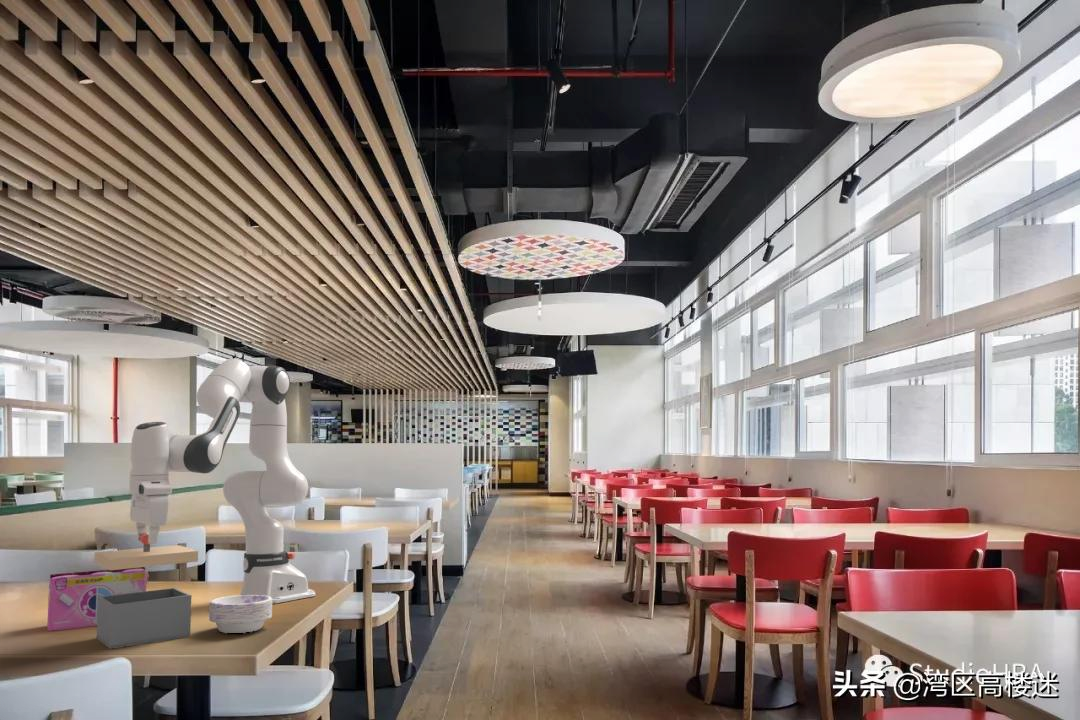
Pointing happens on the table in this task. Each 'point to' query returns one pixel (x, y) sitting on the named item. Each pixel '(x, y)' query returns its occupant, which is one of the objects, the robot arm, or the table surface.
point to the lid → (145, 556)
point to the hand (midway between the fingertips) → (147, 542)
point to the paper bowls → (240, 612)
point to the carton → (143, 617)
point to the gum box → (88, 594)
